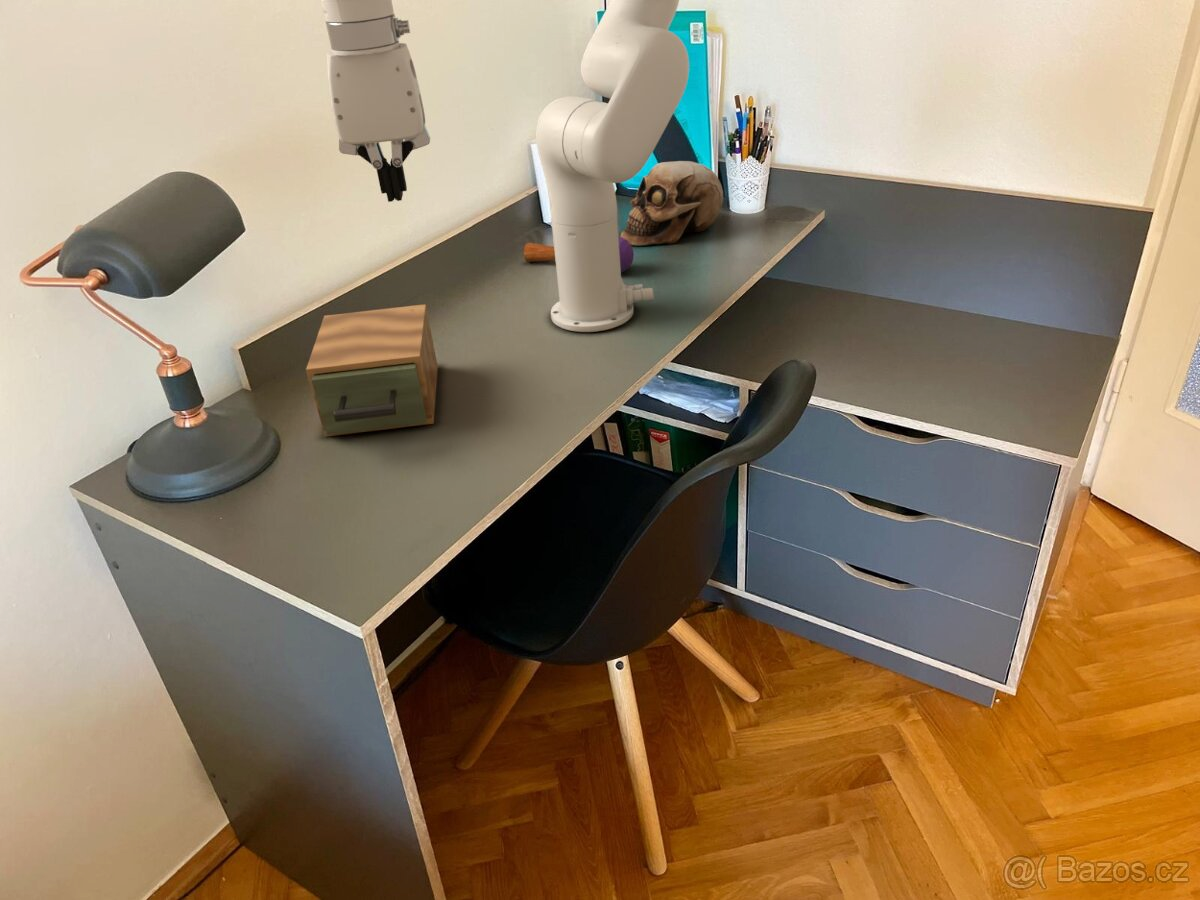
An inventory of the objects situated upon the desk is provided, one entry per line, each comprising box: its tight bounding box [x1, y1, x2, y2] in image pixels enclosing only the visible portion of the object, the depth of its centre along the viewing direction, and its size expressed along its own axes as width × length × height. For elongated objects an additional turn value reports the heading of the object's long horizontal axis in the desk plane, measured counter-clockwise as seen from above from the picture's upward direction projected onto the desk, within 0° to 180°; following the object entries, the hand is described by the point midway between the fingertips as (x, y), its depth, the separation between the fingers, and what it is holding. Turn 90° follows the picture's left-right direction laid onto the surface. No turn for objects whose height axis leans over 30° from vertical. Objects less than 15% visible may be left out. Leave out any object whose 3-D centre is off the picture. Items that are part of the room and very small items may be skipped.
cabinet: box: [305, 303, 439, 438], centre depth 117 cm, size 16×14×10 cm
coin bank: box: [619, 160, 724, 247], centre depth 162 cm, size 16×17×13 cm
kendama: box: [523, 236, 635, 273], centre depth 153 cm, size 6×6×20 cm
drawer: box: [312, 362, 427, 435], centre depth 114 cm, size 19×12×8 cm, turn 7°
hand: (395, 197), depth 110 cm, fingers closed
